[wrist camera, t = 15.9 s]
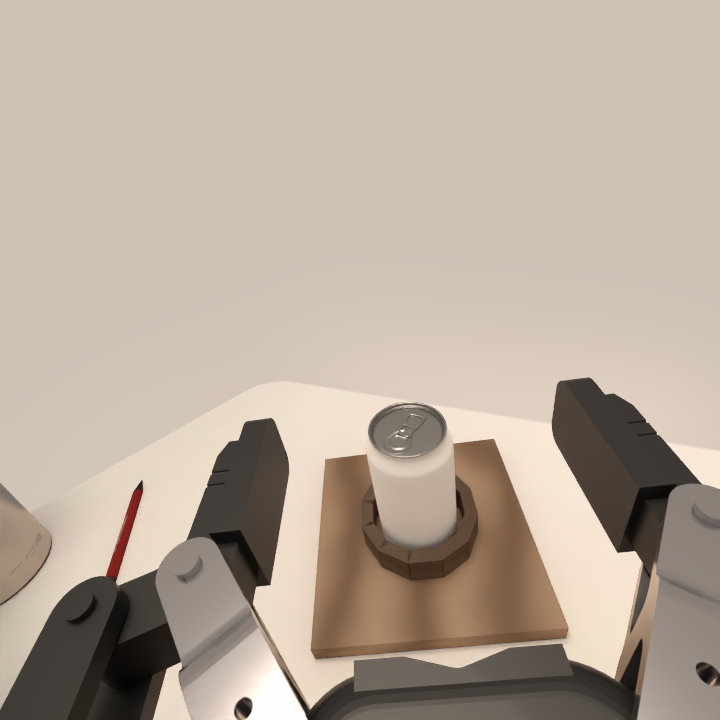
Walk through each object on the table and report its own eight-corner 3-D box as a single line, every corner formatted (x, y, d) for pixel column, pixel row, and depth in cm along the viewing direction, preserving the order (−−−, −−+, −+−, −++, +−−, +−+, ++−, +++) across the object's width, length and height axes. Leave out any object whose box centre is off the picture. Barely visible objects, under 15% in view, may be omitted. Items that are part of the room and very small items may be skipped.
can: (369, 540, 36) (344, 443, 29) (404, 485, 40) (389, 389, 33) (438, 576, 32) (428, 475, 26) (468, 511, 36) (467, 411, 30)
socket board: (315, 658, 30) (302, 634, 28) (328, 468, 45) (320, 443, 43) (565, 637, 29) (573, 610, 27) (493, 448, 44) (494, 421, 42)
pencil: (147, 481, 48) (143, 475, 48) (112, 599, 37) (107, 594, 36) (140, 483, 48) (136, 478, 48) (102, 602, 37) (96, 597, 36)
